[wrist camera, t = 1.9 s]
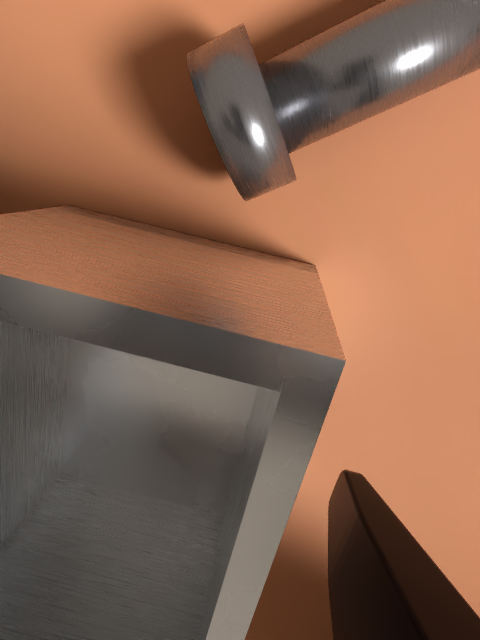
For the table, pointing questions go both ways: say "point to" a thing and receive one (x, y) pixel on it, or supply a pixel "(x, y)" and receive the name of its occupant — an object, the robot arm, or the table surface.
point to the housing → (149, 424)
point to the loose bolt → (326, 82)
